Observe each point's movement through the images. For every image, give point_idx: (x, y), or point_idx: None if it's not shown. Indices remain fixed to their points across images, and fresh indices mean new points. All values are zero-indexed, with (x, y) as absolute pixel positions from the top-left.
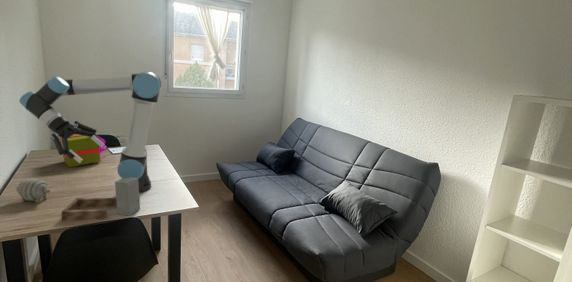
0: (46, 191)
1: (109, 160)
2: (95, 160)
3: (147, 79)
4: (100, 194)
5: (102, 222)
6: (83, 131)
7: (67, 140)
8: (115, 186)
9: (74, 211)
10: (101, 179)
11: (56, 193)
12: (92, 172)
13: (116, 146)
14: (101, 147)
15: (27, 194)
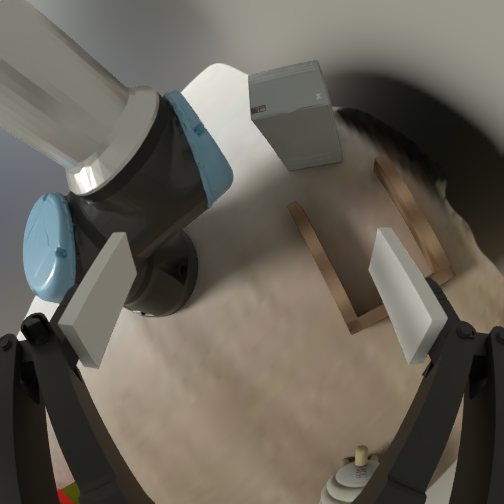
0: (367, 451)
1: (64, 466)
2: None
3: None
4: (242, 339)
5: (400, 160)
6: (75, 430)
7: (409, 441)
8: (331, 113)
9: (436, 237)
10: (148, 421)
11: (290, 470)
12: None
13: None
14: (135, 273)
15: None
